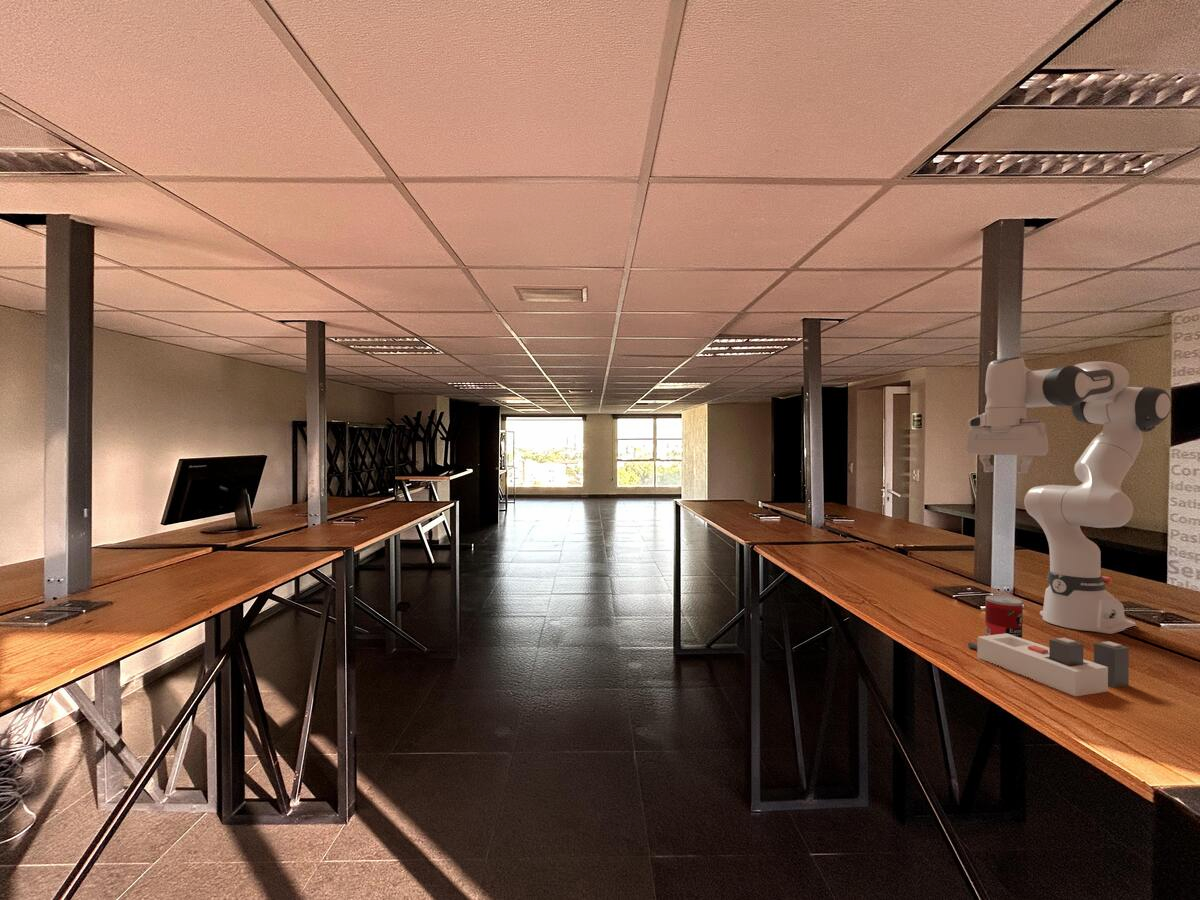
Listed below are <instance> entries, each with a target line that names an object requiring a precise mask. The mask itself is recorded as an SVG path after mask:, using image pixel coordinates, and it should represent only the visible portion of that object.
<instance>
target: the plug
mask: <svg viewBox="0 0 1200 900" xmlns="http://www.w3.org/2000/svg"><path fill="white" fill-rule="evenodd" d="M1129 651H1130V647H1128V646H1124V645H1122V644H1119V643H1118V642H1113V641H1109V640H1108V641H1101V642H1100V641H1099V642H1095V643H1094V644H1093V662H1094V663H1097V664H1100V665H1103V666H1106V667H1108V687H1112V688H1114V689H1115V688H1121V687H1127V686H1129V680H1130V679H1129V677H1130V676H1129V674H1130V673H1129V671H1130V670H1129V668H1130V667H1129V666H1130V662H1129V661H1130V660H1129V659H1130V658H1129V657H1130V656H1129V655H1130V654H1129V653H1130V652H1129Z"/></svg>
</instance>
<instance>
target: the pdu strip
mask: <svg viewBox="0 0 1200 900" xmlns="http://www.w3.org/2000/svg"><path fill="white" fill-rule="evenodd" d="M1048 643H1049V645H1048V646H1046V645H1043V644H1040V643H1037V642H1033V641H1032V640H1028V639H1024V638H1023V637H1022V638H1019V637H1016V636H1013V635H1010V634H1007V633H1006V634H997V635H988V636H986V635H981V636H977V642H976V643H975V642H972V641H968V644H967V647H968V648H969V649H970V648H971V649H973V650H975V651H977V655H976V658H978V659H980V660H983V661H985V662H987V661H988V663H990V664H992V663H993V665H995V664H996V665H995V666H997V665H999V666H998V667H1000V666H1001V667H1000V668H1002V667H1003V669H1005V670H1007V671H1010V672H1013V673H1015V674H1018V675H1020V674H1021V675H1020V676H1022V675H1023V677H1025V676H1026V678H1027V677H1029V678H1028V679H1030V678H1031V679H1030V680H1032V679H1033V680H1032V681H1036V682H1037V683H1041V684H1043V685H1045V686H1047V687H1051V688H1053V689H1056V690H1058V691H1060V692H1064V693H1065V694H1068V695H1071V696H1073V697H1081V696H1087V695H1092V694H1093V695H1094V694H1099V693H1106V692H1108V691H1109V685H1108V667H1106V666H1103V665H1100V664H1097V663H1094V661H1090V660H1088V659H1084V643H1081V642H1078V641H1077V640H1073V639H1071V638H1067V637H1058V638H1052V639H1049V642H1048Z"/></svg>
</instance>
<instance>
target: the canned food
mask: <svg viewBox="0 0 1200 900" xmlns="http://www.w3.org/2000/svg"><path fill="white" fill-rule="evenodd" d="M1023 605H1024V604H1023V601H1022V600H1021V599H1018V598H1016V597H1015V598H1014V597H1010V596H1005V595H995V594H993V595H986V596H985V607H984V609H985V613H984V615H985V625H984V627H985V632H984V633H985V634H984V636H988V635H997V634H1006V633H1007V634H1010V635H1013V636H1016V637H1019V638H1022V639H1023V625H1024V624H1023V621H1024V620H1023V619H1024V617H1023V615H1024V613H1023V607H1024V606H1023Z"/></svg>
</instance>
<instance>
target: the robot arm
mask: <svg viewBox="0 0 1200 900" xmlns="http://www.w3.org/2000/svg"><path fill="white" fill-rule="evenodd" d="M985 373H986V375H985V384H984V393H985V396H986V402H985V403H986V404H985V405H984V407H985V408H984V412H983V413H982V414H979V415H977V416H974V417H972V418H970V419H969V418H968V420H967V427H968V428H969V429H968V430H967V433H966V444H965V445H966V447H965V448H966V449H965V450H966V452H967V453H968V454H969V455H976V456H977V455H978V456H979V461H980V463H981V465H982V466H983V472H984V473H993V472H994V465H992V464H991V462H990V459H991V456H993V455H994V456H1020V460H1021V461H1022V463H1021V464H1020V466H1016V469H1017V471H1016V473H1017V474H1020V475H1021V474H1023V475H1027V474H1028V473H1029V467H1030V465H1031V464H1032V462H1033V460H1034V456H1037V457H1039V456H1041V457H1042V456H1043V457H1044V456H1046V455H1047V454H1048V452H1049V449H1050V448H1049V439H1048V434H1047V423H1046V422H1045V421H1044V420H1043V419H1040V418H1037V417H1035V418H1027V413H1028V412H1027V409H1028V408H1031V409H1032V408H1042V407H1044V408H1045V407H1046V408H1048V407H1070V410H1071V414H1072V416H1073V417H1074V419H1075V420H1076V421H1077V422H1080V423H1084V424H1088V425H1089V424H1090V425H1094V424H1096V425H1103V427H1102V430H1101V431H1100V432H1099V433H1098V434H1097V435H1096V436H1095V437H1094V438H1093V439H1092V440H1091V442H1090V443H1089V444H1088V445H1087V447H1086V448H1085V450H1084V451H1083V453H1082V454H1080V457H1079V458H1078V459H1077V461H1076V462H1075V464H1074V467H1073V469H1074V475H1075V476H1076V478H1077V479H1078V480H1079V482H1081V484H1079V485H1063V484H1046V485H1039V486H1037V485H1036V486H1033V487H1031V488H1030V489H1028V491H1027V492H1026V494H1025V496H1024V499H1023V500H1024V502H1023V503H1024V509H1025V510H1026V513H1027V515H1029V516H1030V517H1032V519H1034V520H1035V521H1036V522H1037V523H1038V524H1039V526H1040V527H1041V529H1042V530H1043V532H1044V534H1045V537H1046V540H1047V543H1048V549H1049V570H1048V573H1047V583H1048V585H1049V586H1048V587H1046V588H1045V590H1044V591H1045V592H1044V598H1043V599H1044V600H1043V608H1042V610H1040V611H1039V615H1040V616H1041V617H1042V620H1043V621H1045V622H1047V623H1048V624H1052V625H1056V626H1059V627H1063V628H1065V629H1066V628H1067V629H1071V630H1078V631H1086V632H1087V631H1088V632H1096V633H1102V634H1110V635H1111V634H1112V635H1113V634H1116V633H1119V632H1123V631H1126V630H1127V629H1126V628H1128V627H1131V626H1135V625H1136V626H1137V623H1136V622H1134V621H1132V620H1130V619H1127V618H1125V608H1124V605H1123V603H1122V602H1121V601H1119V600H1118V598H1116V597H1114V596H1113V595H1112V594H1111V593H1110V592H1109V591H1108V590H1106V589H1107V588H1106V584H1107V585H1111V584H1112V583H1113V579H1112V577H1111V576H1110V577H1109V576H1105V575H1102V576H1101V574H1102V573H1101V563H1102V561H1101V558H1102V557H1101V554H1102V553H1101V549H1100V547H1099V546H1098V544H1096V543H1095V542H1094V541H1092V540H1091V539H1089V538H1088V537H1086V535H1085V534H1084V533H1083V531H1082V530H1081V529H1082V528H1081V527H1091V528H1097V529H1106V528H1107V529H1108V528H1121V527H1123V526H1125V525H1127V523H1129V521H1130V520H1131V518H1132V517H1133V515H1134V514H1133V513H1134V505H1133V502H1132V500H1131V499H1130V497H1129V496H1128V495H1127V494H1126V493H1124V492H1123V490H1122V483H1123V481H1124V479H1125V477H1126V475H1127V474H1128V472H1129V470H1130V469H1131V467H1132V466H1133V464H1134V463H1135V461H1136V460H1137V458H1138V456H1139V454H1140V451H1141V449H1142V446H1143V442H1144V436H1143V434H1142V432H1143V433H1147V432H1151V431H1152V430H1154V429H1156V426H1159V425H1160V424H1162V422H1163V421H1165V420H1166V419H1167V418H1168V416H1169V415H1170V413H1171V409H1172V399H1171V396H1170V395H1169V393H1168V392H1167V391H1166V390H1165V389H1162V388H1159V387H1155V386H1154V387H1152V386H1145V387H1140V386H1128V385H1129V382H1130V373H1129V371H1128V369H1127V368H1125V366H1123V365H1121V364H1119V363H1116V362H1112V361H1104V360H1102V361H1101V360H1099V361H1096V360H1095V361H1086V362H1080V363H1077V364H1074V365H1066V366H1059V367H1055V368H1047V369H1045V368H1044V369H1039V370H1038V369H1037V370H1033V369H1030V368H1028V367H1027V366H1026V364H1025V359H1024V357H1021V356H1011V357H1004V358H997V359H994V360H992V361H990V362H989V363H988V366H987V369H986V372H985ZM1125 629H1126V630H1125Z"/></svg>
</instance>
